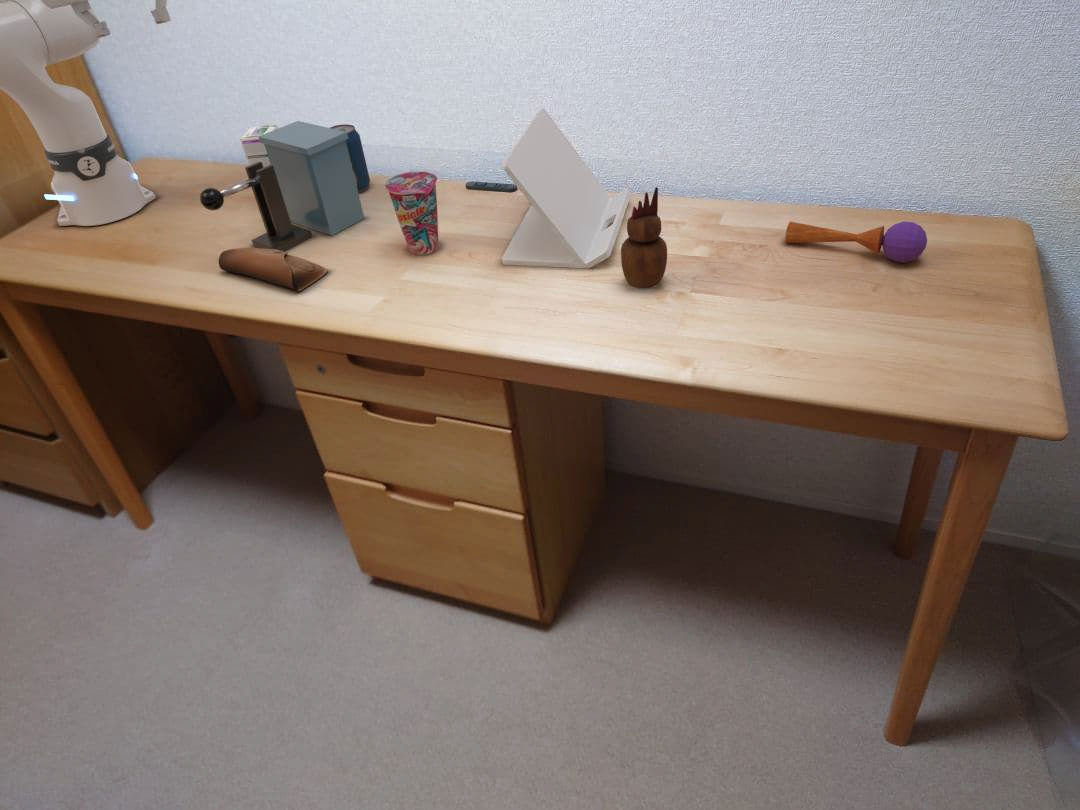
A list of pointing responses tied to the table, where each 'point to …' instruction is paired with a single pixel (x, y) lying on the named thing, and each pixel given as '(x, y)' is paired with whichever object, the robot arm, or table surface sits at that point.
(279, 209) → the bracket
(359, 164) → the soda can
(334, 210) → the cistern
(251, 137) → the syrup box
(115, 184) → the robot arm
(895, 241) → the kendama
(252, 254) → the sunglasses case
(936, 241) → the table surface
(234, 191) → the flush lever
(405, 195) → the cup
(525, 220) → the tablet stand
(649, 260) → the wooden figurine
